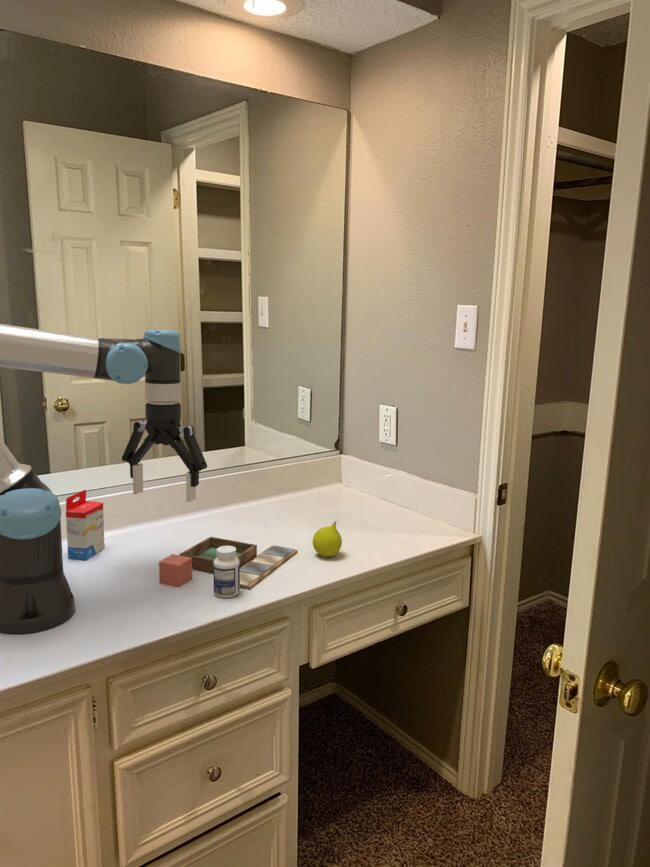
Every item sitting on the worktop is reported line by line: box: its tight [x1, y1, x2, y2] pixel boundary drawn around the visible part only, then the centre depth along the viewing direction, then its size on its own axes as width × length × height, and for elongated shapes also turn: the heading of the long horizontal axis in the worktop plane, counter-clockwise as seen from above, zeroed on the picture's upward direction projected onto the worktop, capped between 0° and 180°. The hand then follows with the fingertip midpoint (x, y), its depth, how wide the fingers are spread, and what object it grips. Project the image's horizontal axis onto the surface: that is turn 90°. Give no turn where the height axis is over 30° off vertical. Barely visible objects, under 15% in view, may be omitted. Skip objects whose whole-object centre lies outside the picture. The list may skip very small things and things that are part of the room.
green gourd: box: [312, 517, 343, 558], centre depth 158 cm, size 7×7×10 cm
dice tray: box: [178, 536, 258, 574], centre depth 153 cm, size 13×13×3 cm
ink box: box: [65, 489, 106, 561], centre depth 155 cm, size 8×5×15 cm, turn 168°
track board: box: [240, 545, 298, 590], centre depth 151 cm, size 24×7×1 cm, turn 157°
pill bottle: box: [212, 546, 241, 599], centre depth 136 cm, size 5×5×10 cm
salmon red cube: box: [158, 553, 193, 588], centre depth 142 cm, size 5×5×5 cm
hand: (164, 496), depth 146 cm, fingers open, 13 cm apart
